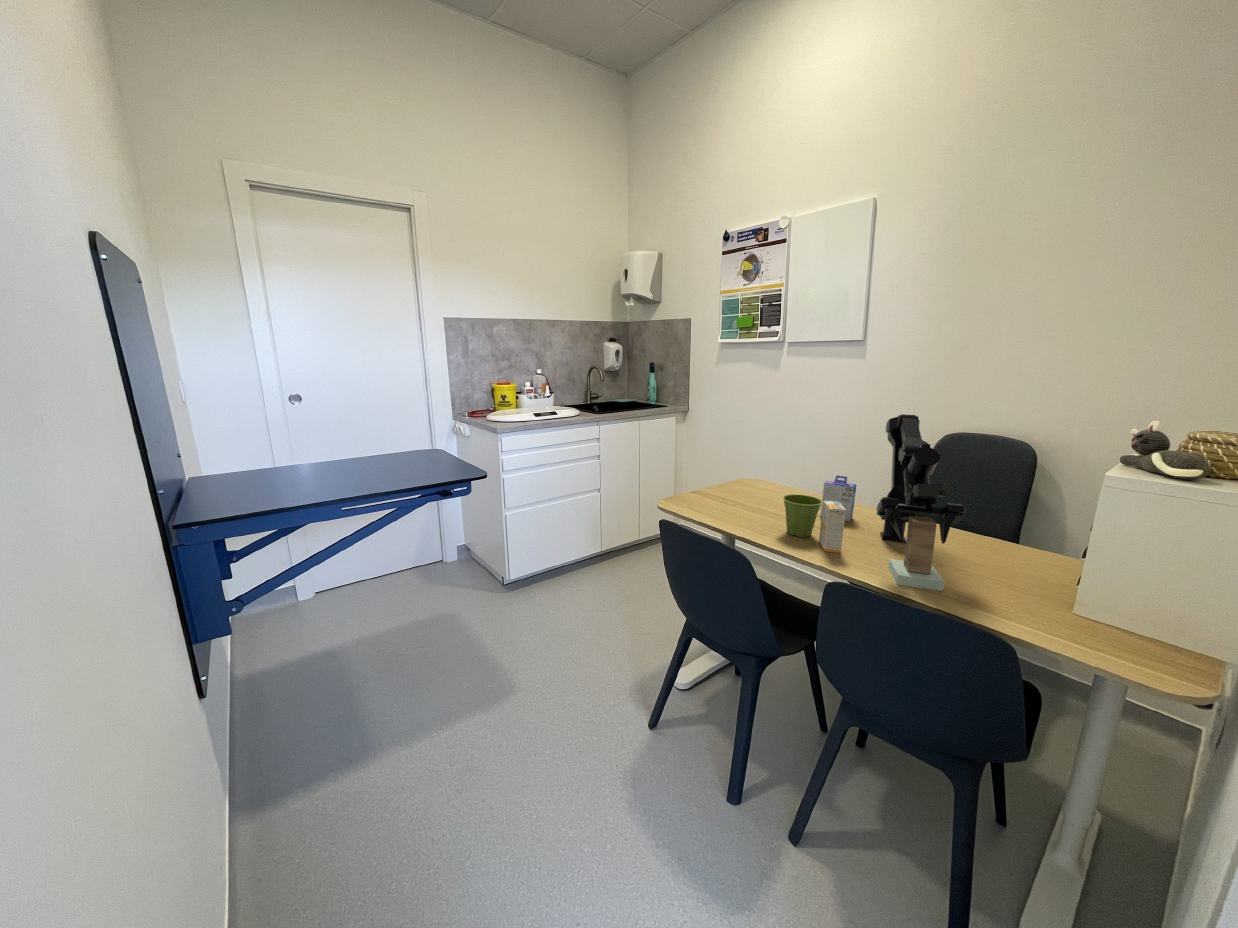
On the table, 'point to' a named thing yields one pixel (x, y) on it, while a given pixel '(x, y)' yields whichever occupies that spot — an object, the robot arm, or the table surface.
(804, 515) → the plant pot
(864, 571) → the table surface
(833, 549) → the supplement box
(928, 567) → the walnut block
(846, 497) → the ink cartridge box
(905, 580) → the sage green base block
